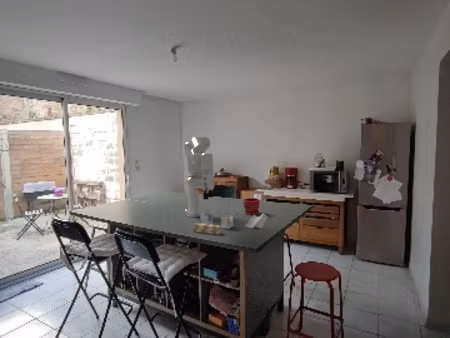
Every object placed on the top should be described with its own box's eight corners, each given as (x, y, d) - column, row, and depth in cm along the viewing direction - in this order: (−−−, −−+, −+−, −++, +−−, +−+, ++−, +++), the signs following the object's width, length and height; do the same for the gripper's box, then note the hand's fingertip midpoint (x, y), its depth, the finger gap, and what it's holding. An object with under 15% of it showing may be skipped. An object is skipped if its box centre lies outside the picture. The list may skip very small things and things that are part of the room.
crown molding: (253, 217, 220) (253, 213, 220) (268, 218, 216) (268, 213, 216) (244, 228, 190) (244, 223, 190) (262, 229, 186) (262, 224, 186)
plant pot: (247, 211, 240) (247, 197, 239) (262, 212, 233) (261, 198, 232) (240, 214, 228) (240, 199, 228) (255, 216, 222) (255, 201, 221)
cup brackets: (200, 226, 196) (200, 215, 195) (205, 223, 203) (205, 213, 202) (229, 229, 187) (229, 218, 186) (233, 226, 194) (233, 215, 193)
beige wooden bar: (193, 231, 183) (193, 224, 183) (196, 230, 187) (196, 222, 186) (218, 234, 176) (217, 227, 175) (220, 233, 179) (220, 225, 179)
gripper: (208, 172, 173) (209, 200, 174) (216, 171, 190) (217, 196, 190) (197, 173, 175) (198, 200, 176) (206, 171, 192) (207, 196, 192)
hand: (208, 198), depth 183 cm, fingers open, 9 cm apart
